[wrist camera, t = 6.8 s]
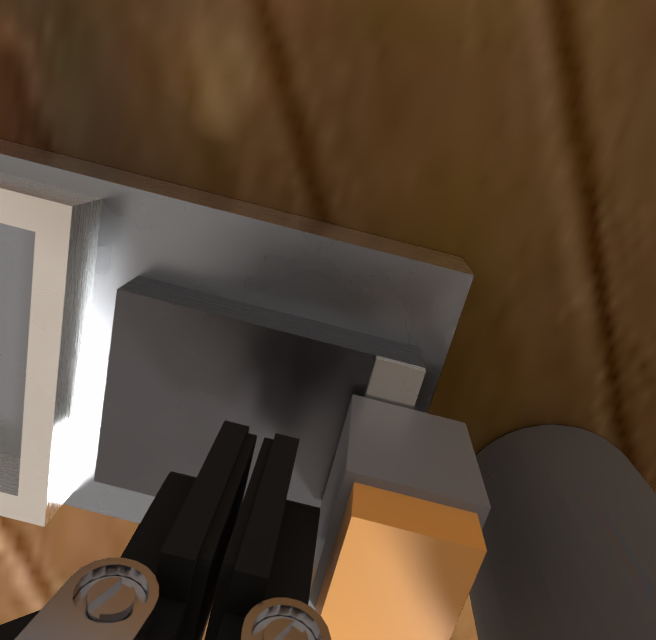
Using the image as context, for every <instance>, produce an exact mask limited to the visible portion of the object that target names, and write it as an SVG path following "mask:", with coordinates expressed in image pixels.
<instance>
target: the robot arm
mask: <svg viewBox="0 0 656 640" xmlns="http://www.w3.org/2000/svg"><path fill="white" fill-rule="evenodd" d="M256 440H257V435H254V434H250V433H249V426H246V425H242V424H238V423H234V422H230V421H226V420H225V421H224V423H223V425H222V427H221V429H220V431H219V433H218V435H217V437H216V439H215V441H214V443H213V445H212V447H211V449H210V451H209V453H208V455H207V457H206V459H205V461H204V463H203V465H202V468H201V470H200V472H199V474H198V476H197V477H193V476H189V475H185V474H181V473H177V472H173V471H171V472H170V473H169V474H168V476H167V477H166V479H165V481H164V482H163V484H162V486H161V488H160V489H159V491H158V493H157V495H156V496H155V498H154V500H153V502H152V503H151V505H150V507H149V509H148V510H147V512H146V514H145V516H144V517H143V519H142V521H141V522H140V524H139V526H138V528H137V529H136V531H135V533H134V535H133V536H132V538H131V540H130V542H129V543H128V545H127V547H126V549H125V550H124V552H123V554H122V556H121V557H120V558H105V559H101V560H97V561H94V562H92V563H89V564H87V565H85V566H83V567H81V568H80V569H79V570H78V571H77V572H76V573H74V574H73V575H72V576H71V577H70V578H69V579H68V580H67V581H66V582H65V584H64V585H63V586H62V587H61V588H60V589H59V590H58V591H57V593H56V594H55V595H54V596H53V597H52V598H51V599H50V600H49V601H48V603H47V604H46V605H45V606H44V607H43V608H42V609H41V610H39V611H36V612H34V613H31V614H28V615H26V616H23V617H20V618H18V619H15V620H12V621H10V622H7V623H4V624H2V625H0V640H202V637H203V634H204V631H205V628H206V625H207V622H208V618H209V615H210V618H209V622H208V627H207V631H206V636H205V640H331V636H330V632H329V629H328V626H327V625H326V623H325V621H324V620H323V618H322V617H321V615H319V614H318V613H317V612H316V611H315V610H314V609H313V608H312V607H310V606H308V603H309V595H310V588H311V580H312V572H313V564H314V557H315V549H316V541H317V533H318V526H319V518H320V508H319V507H315V506H311V505H307V504H303V503H299V502H295V501H291V500H286V499H287V494H288V490H289V485H290V481H291V476H292V472H293V467H294V463H295V458H296V454H297V449H298V445H299V440H300V439H298V438H294V437H290V436H286V435H282V434H278V433H276V434H275V437H274V439H270V438H266V437H264V440H263V443H262V445H261V448H260V451H259V454H258V457H257V460H256V463H255V466H254V469H253V472H252V475H251V478H250V481H249V484H248V487H247V490H246V493H245V489H246V484H247V480H248V475H249V471H250V467H251V462H252V458H253V453H254V449H255V444H256ZM244 493H245V496H244ZM243 497H244V499H243ZM210 612H211V613H210Z"/></svg>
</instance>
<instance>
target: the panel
mask: <svg viewBox="0 0 656 640" xmlns="http://www.w3.org/2000/svg"><path fill="white" fill-rule="evenodd" d="M473 277H474V274H473V273H472V271H471V270H470V268H469V267H468V265H467V264H466V262H465V261H464V259H463V258H462V257H459V256H455V255H451V254H447V253H443V252H439V251H435V250H431V249H427V248H423V247H420V246H416V245H412V244H408V243H404V242H400V241H396V240H392V239H388V238H385V237H381V236H377V235H373V234H369V233H365V232H361V231H357V230H353V229H349V228H346V227H342V226H338V225H334V224H330V223H326V222H322V221H318V220H314V219H310V218H307V217H303V216H299V215H295V214H291V213H287V212H283V211H279V210H275V209H272V208H268V207H264V206H260V205H256V204H252V203H248V202H244V201H240V200H236V199H233V198H229V197H225V196H221V195H217V194H213V193H209V192H205V191H201V190H198V189H194V188H190V187H186V186H182V185H178V184H174V183H170V182H166V181H162V180H159V179H155V178H151V177H147V176H143V175H139V174H135V173H131V172H127V171H124V170H120V169H116V168H112V167H108V166H104V165H100V164H96V163H92V162H88V161H85V160H81V159H77V158H73V157H69V156H65V155H61V154H57V153H53V152H49V151H46V150H42V149H38V148H34V147H30V146H26V145H22V144H18V143H14V142H11V141H7V140H3V139H0V516H4V517H8V518H12V519H16V520H20V521H24V522H28V523H32V524H36V525H40V526H45V525H46V524H47V523H48V522H49V520H50V519H51V518H52V517H53V516H54V514H55V513H56V512H57V511H58V510H59V508H60V507H61V506H62V505H63V504H66V505H69V506H73V507H77V508H81V509H85V510H89V511H93V512H97V513H101V514H105V515H109V516H113V517H117V518H121V519H124V520H128V521H132V522H136V523H140V522H141V521H142V519H143V517H144V516H145V514H146V512H147V510H148V509H149V507H150V505H151V503H152V502H153V500H154V498H155V496H156V495H157V493H158V491H159V489H160V488H161V486H162V484H163V482H164V481H165V479H166V477H167V476H168V474H169V473H170V472H171V471H173V472H177V473H181V474H185V475H189V476H193V477H197V476H198V474H199V472H200V470H201V468H202V465H203V463H204V461H205V459H206V457H207V455H208V453H209V451H210V449H211V447H212V445H213V443H214V441H215V439H216V437H217V435H218V433H219V431H220V429H221V427H222V425H223V423H224V421H225V420H226V421H230V422H234V423H238V424H242V425H246V426H249V433H250V434H254V435H257V440H256V444H255V449H254V453H253V458H252V462H251V467H250V471H249V475H248V480H247V484H246V489H245V493H246V490H247V487H248V484H249V481H250V478H251V475H252V472H253V469H254V466H255V463H256V460H257V457H258V454H259V451H260V448H261V445H262V443H263V440H264V437H266V438H270V439H274V437H275V434H276V433H278V434H282V435H286V436H290V437H294V438H298V439H300V440H299V445H298V449H297V454H296V458H295V463H294V467H293V472H292V476H291V481H290V485H289V490H288V494H287V499H286V500H291V501H295V502H299V503H303V504H307V505H311V506H315V507H319V508H320V506H321V503H322V499H323V496H324V493H325V489H326V486H327V482H328V479H329V475H330V472H331V468H332V465H333V461H334V458H335V454H336V451H337V447H338V444H339V440H340V437H341V433H342V430H343V426H344V423H345V419H346V416H347V412H348V409H349V405H350V402H351V398H352V395H353V394H354V395H358V396H362V397H366V398H370V399H374V400H377V401H381V402H385V403H389V404H393V405H397V406H401V407H405V408H409V409H413V410H417V411H420V412H424V413H427V412H428V409H429V406H430V403H431V400H432V397H433V394H434V391H435V388H436V386H437V383H438V380H439V377H440V374H441V371H442V368H443V365H444V362H445V359H446V356H447V353H448V350H449V347H450V345H451V342H452V339H453V336H454V333H455V330H456V327H457V324H458V321H459V318H460V315H461V312H462V309H463V306H464V303H465V301H466V298H467V295H468V292H469V289H470V286H471V283H472V280H473ZM245 493H244V496H245ZM243 499H244V497H243Z"/></svg>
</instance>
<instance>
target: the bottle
mask: <svg viewBox="0 0 656 640" xmlns="http://www.w3.org/2000/svg"><path fill="white" fill-rule="evenodd" d="M476 459H477V463H478V466H479V469H480V473H481V476H482V479H483V482H484V486H485V489H486V492H487V496H488V499H489V502H490V506H491V509H490V511H489V514H488V516H487V518H486V521H485V523H484V526H483V528H482V534H483V537H484V541H485V545H486V549H487V552H486V554H485V557H484V559H483V562H482V564H481V566H480V569H479V571H478V573H477V576H476V578H475V581H474V583H473V585H472V588H471V590H470V592H469V595H470V600H471V605H472V610H473V615H474V620H475V625H476V630H477V635H478V640H656V493H655V492H654V491H653V489H652V488H651V487H650V486H649V484H648V483H647V482H646V481H645V479H644V478H643V477H642V476H641V474H640V473H639V472H638V471H637V469H636V468H635V467H634V466H633V464H632V463H631V462H630V461H629V459H628V458H627V457H626V456H625V455H624V454H623V453H622V452H621V451H620V450H619V449H618V448H617V447H616V446H614V445H613V444H612V443H610V442H609V441H608V440H606V439H604V438H603V437H601V436H599V435H597V434H595V433H592V432H590V431H588V430H585V429H581V428H578V427H572V426H564V425H553V424H551V425H539V426H533V427H528V428H522V429H519V430H516V431H514V432H511V433H508V434H506V435H504V436H502V437H500V438H498V439H496V440H495V441H493V442H492V443H490V444H489V445H488V446H486V447H485V448H484V449H482V450H481V451H480V452H479V453H478V454H477V455H476Z"/></svg>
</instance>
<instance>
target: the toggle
mask: <svg viewBox="0 0 656 640" xmlns="http://www.w3.org/2000/svg"><path fill="white" fill-rule="evenodd" d="M490 509H491V506H490V502H489V499H488V496H487V492H486V489H485V486H484V482H483V479H482V476H481V473H480V469H479V466H478V463H477V459H476V456H475V453H474V449H473V446H472V443H471V439H470V436H469V433H468V429H467V426H466V423H464V422H460V421H456V420H452V419H448V418H444V417H440V416H436V415H432V414H428V413H424V412H420V411H417V410H413V409H409V408H405V407H401V406H397V405H393V404H389V403H385V402H381V401H377V400H374V399H370V398H366V397H362V396H358V395H354V394H353V395H352V398H351V402H350V405H349V409H348V412H347V416H346V419H345V423H344V426H343V430H342V433H341V437H340V440H339V444H338V447H337V451H336V454H335V458H334V461H333V465H332V468H331V472H330V475H329V479H328V482H327V486H326V489H325V493H324V496H323V499H322V503H321V506H320V518H319V526H318V533H317V541H316V549H315V557H314V564H313V572H312V580H311V588H310V595H309V603H308V606H310V607H312V608H313V609H314V610H315V611H316V612H317V613H318V614H319V615H321V617H322V618H323V620H324V621H325V623H326V625H327V626H328V629H329V632H330V636H331V640H450V637H451V635H452V633H453V630H454V628H455V626H456V623H457V621H458V618H459V616H460V614H461V611H462V609H463V607H464V604H465V602H466V599H467V597H468V595H469V592H470V590H471V588H472V585H473V583H474V581H475V578H476V576H477V573H478V571H479V569H480V566H481V564H482V562H483V559H484V557H485V554H486V552H487V549H486V545H485V541H484V537H483V534H482V528H483V526H484V523H485V521H486V518H487V516H488V514H489V511H490Z"/></svg>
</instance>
